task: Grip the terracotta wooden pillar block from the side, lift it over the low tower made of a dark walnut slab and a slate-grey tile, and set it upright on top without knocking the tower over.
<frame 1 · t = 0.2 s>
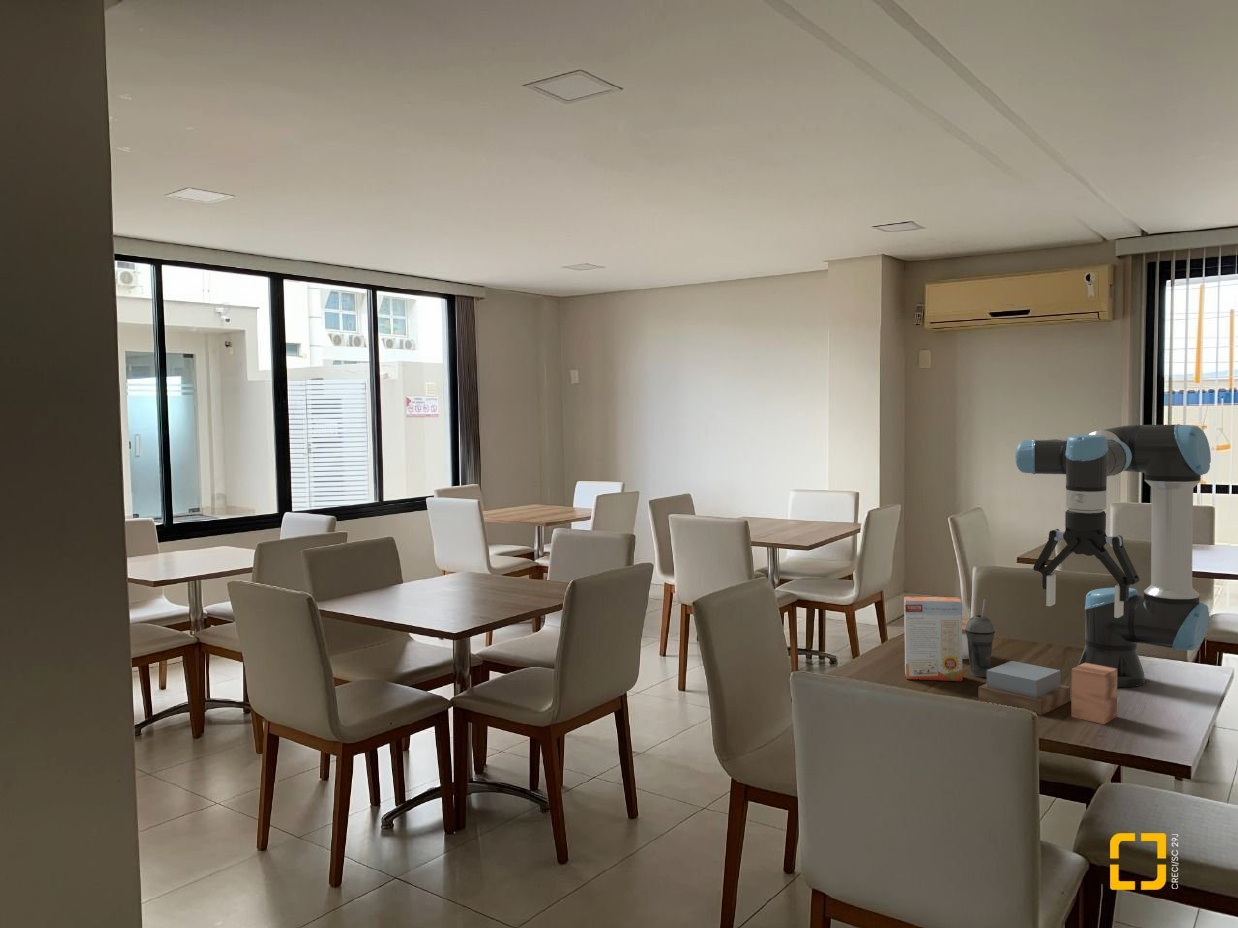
hand: (1083, 610, 193), 27 cm above the table, tool pointing down, fingers open, 13 cm apart
terracotta pillar block: (1094, 716, 208), on the table
cracker box: (933, 678, 241), on the table
lidded bowl: (959, 656, 261), on the table
slate top tile: (1023, 686, 220), point 3 cm above the table, touching walnut base slab
beverage cup: (979, 675, 242), on the table
walnut base slab: (1024, 703, 220), on the table, touching slate top tile
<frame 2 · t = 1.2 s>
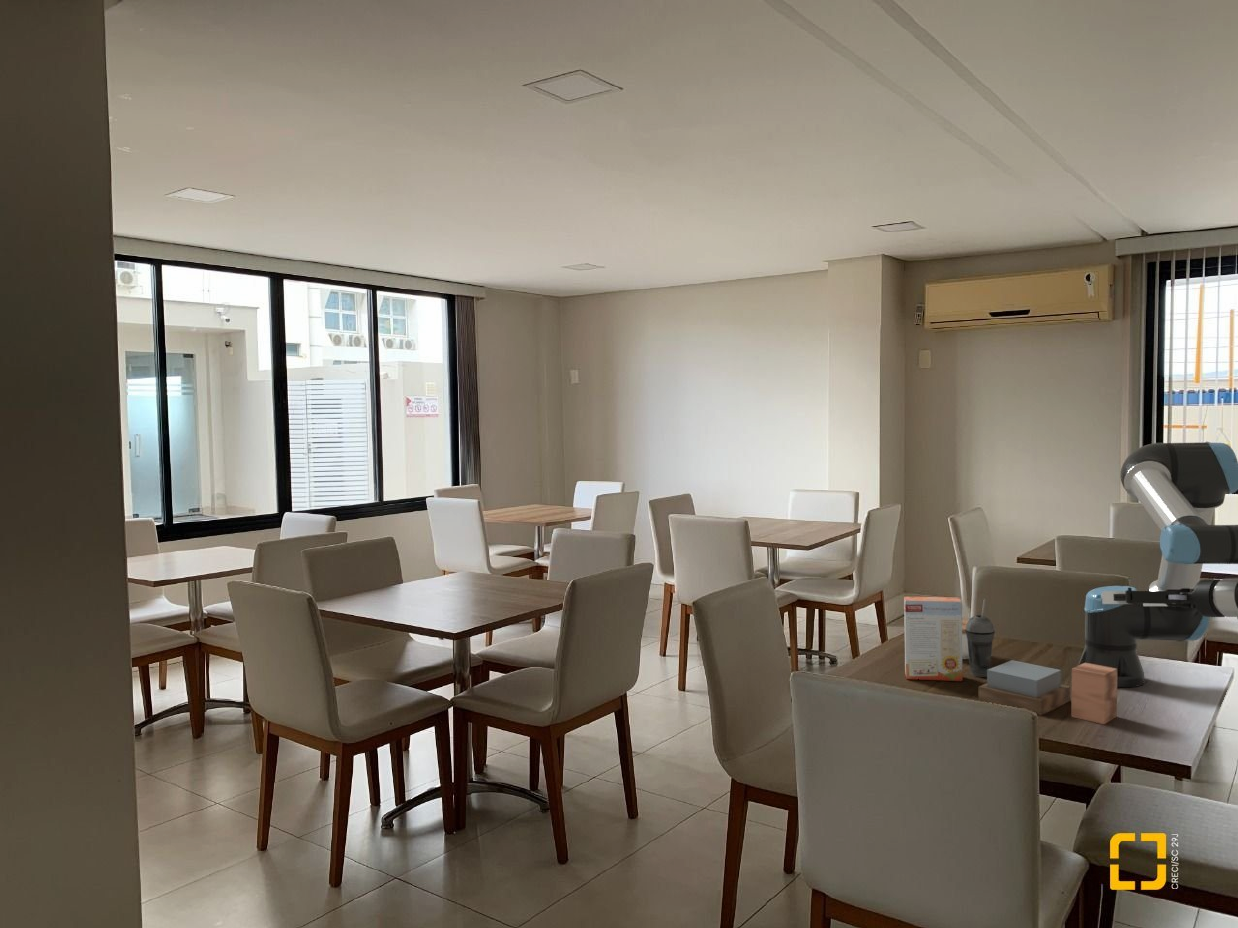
hand: (1123, 598, 203), 27 cm above the table, tool horizontal, fingers open, 13 cm apart
nothing on the table moved.
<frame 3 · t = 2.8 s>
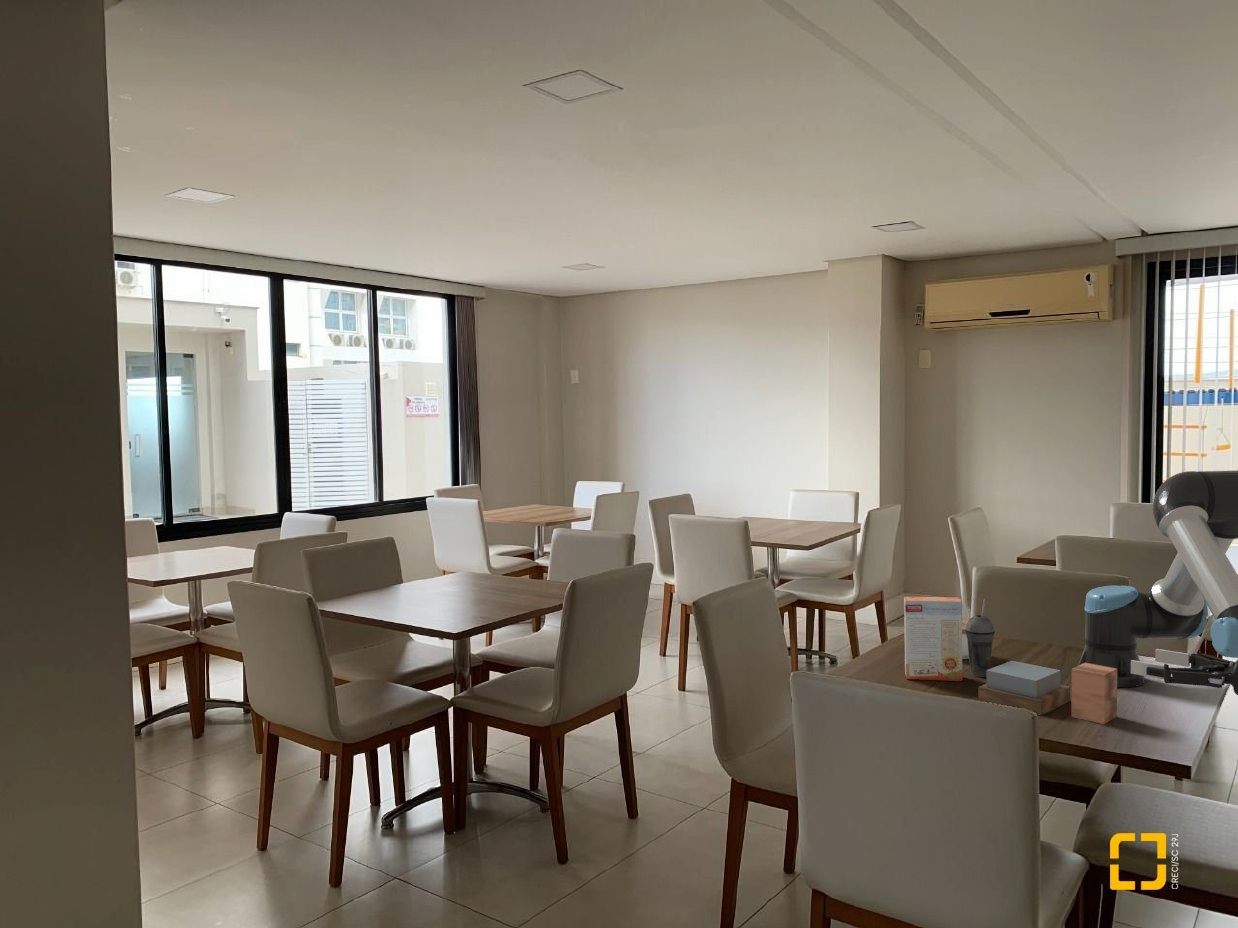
hand: (1143, 660, 199), 15 cm above the table, tool horizontal, fingers open, 13 cm apart
slate top tile: (1023, 686, 220), point 3 cm above the table
walnut base slab: (1024, 703, 220), on the table
everything else where it was.
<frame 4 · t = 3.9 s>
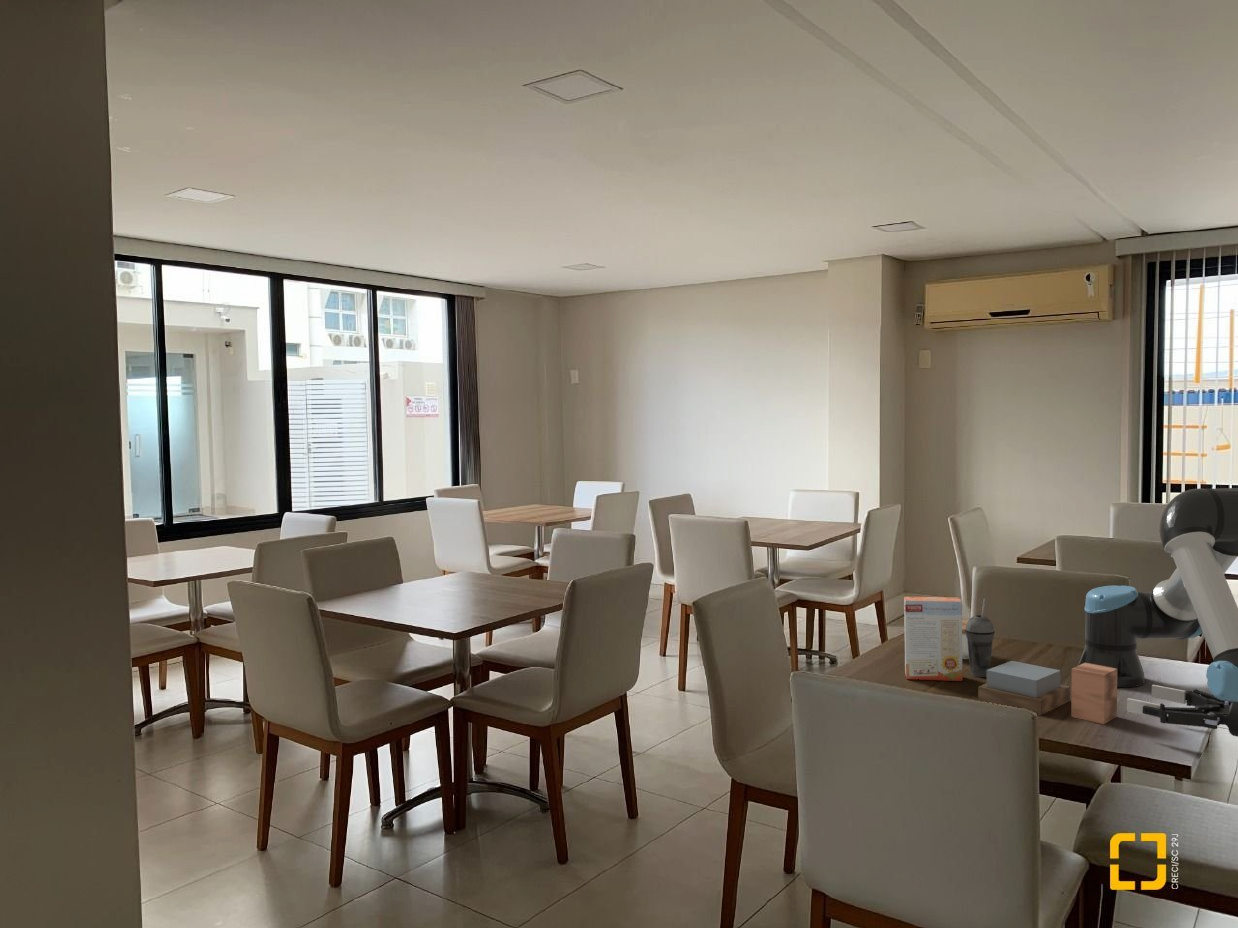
hand: (1140, 697, 201), 6 cm above the table, tool horizontal, fingers open, 13 cm apart
slate top tile: (1023, 686, 220), point 3 cm above the table, touching walnut base slab
walnut base slab: (1023, 703, 220), on the table, touching slate top tile
everything else where it was.
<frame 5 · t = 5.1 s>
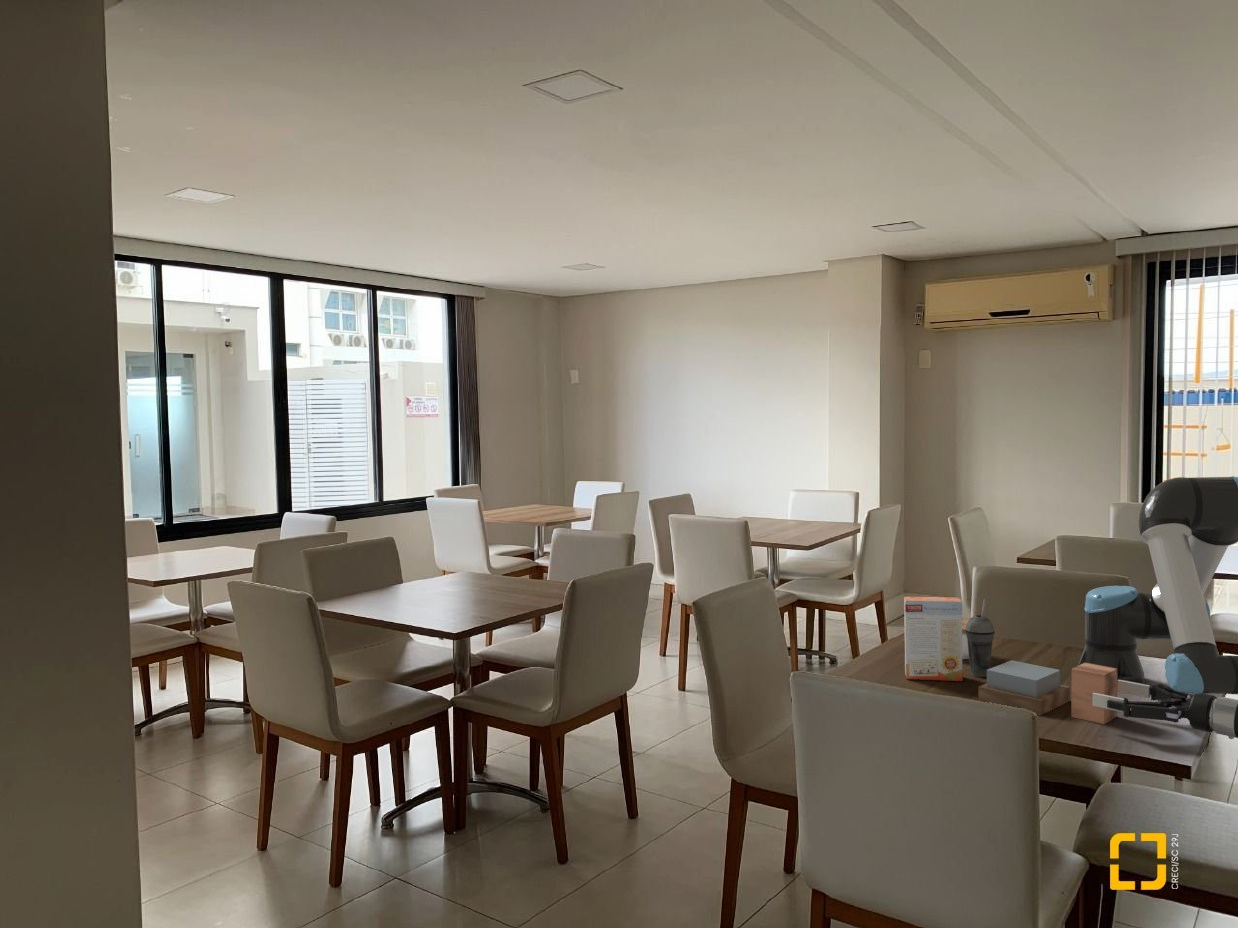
hand: (1105, 692, 205), 6 cm above the table, tool horizontal, fingers open, 13 cm apart
nothing on the table moved.
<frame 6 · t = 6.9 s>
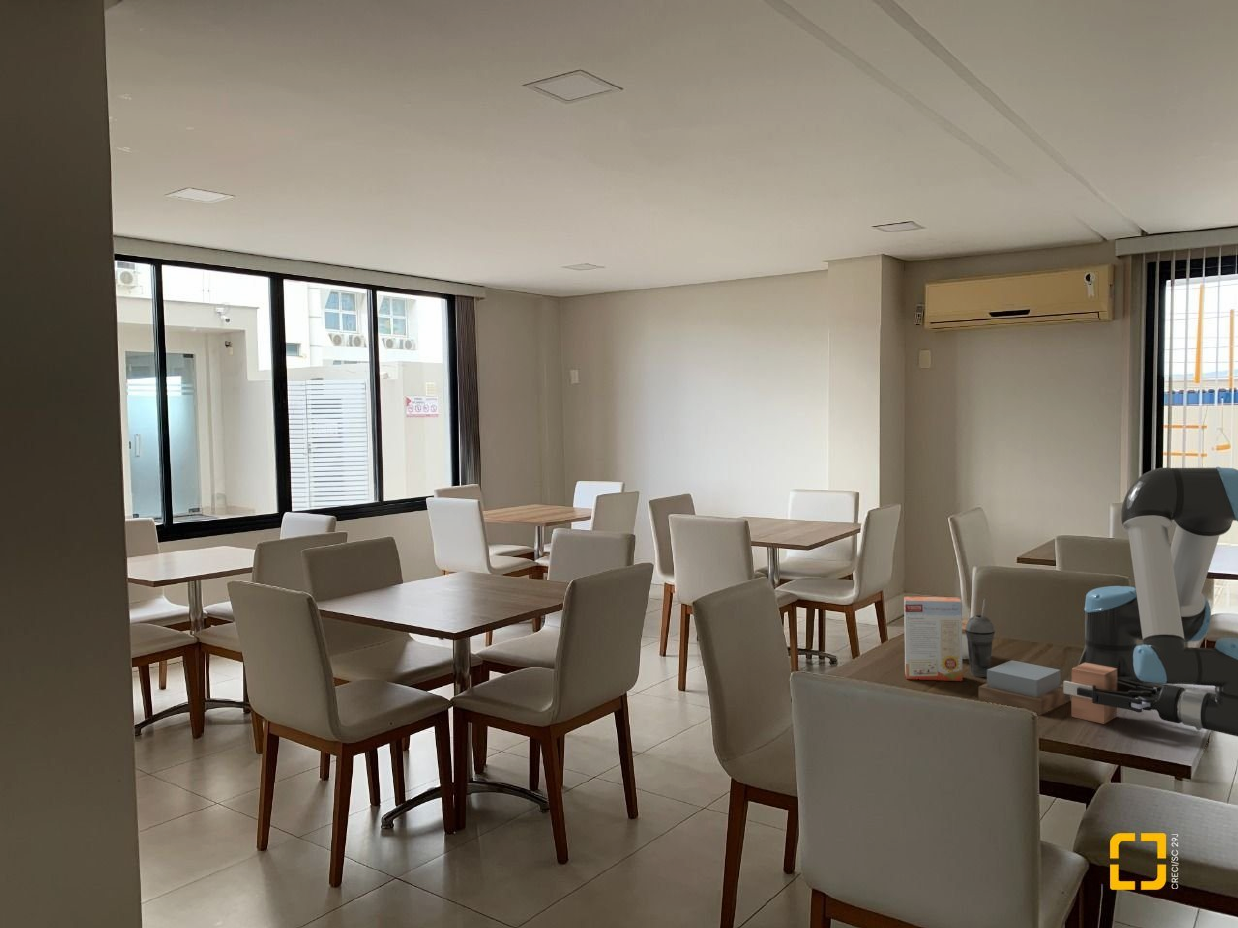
hand: (1071, 683, 212), 7 cm above the table, tool horizontal, fingers closed on terracotta pillar block, 7 cm apart
terracotta pillar block: (1094, 716, 208), on the table, touching gripper
slate top tile: (1023, 686, 220), point 3 cm above the table
walnut base slab: (1024, 703, 221), on the table
everything else where it was.
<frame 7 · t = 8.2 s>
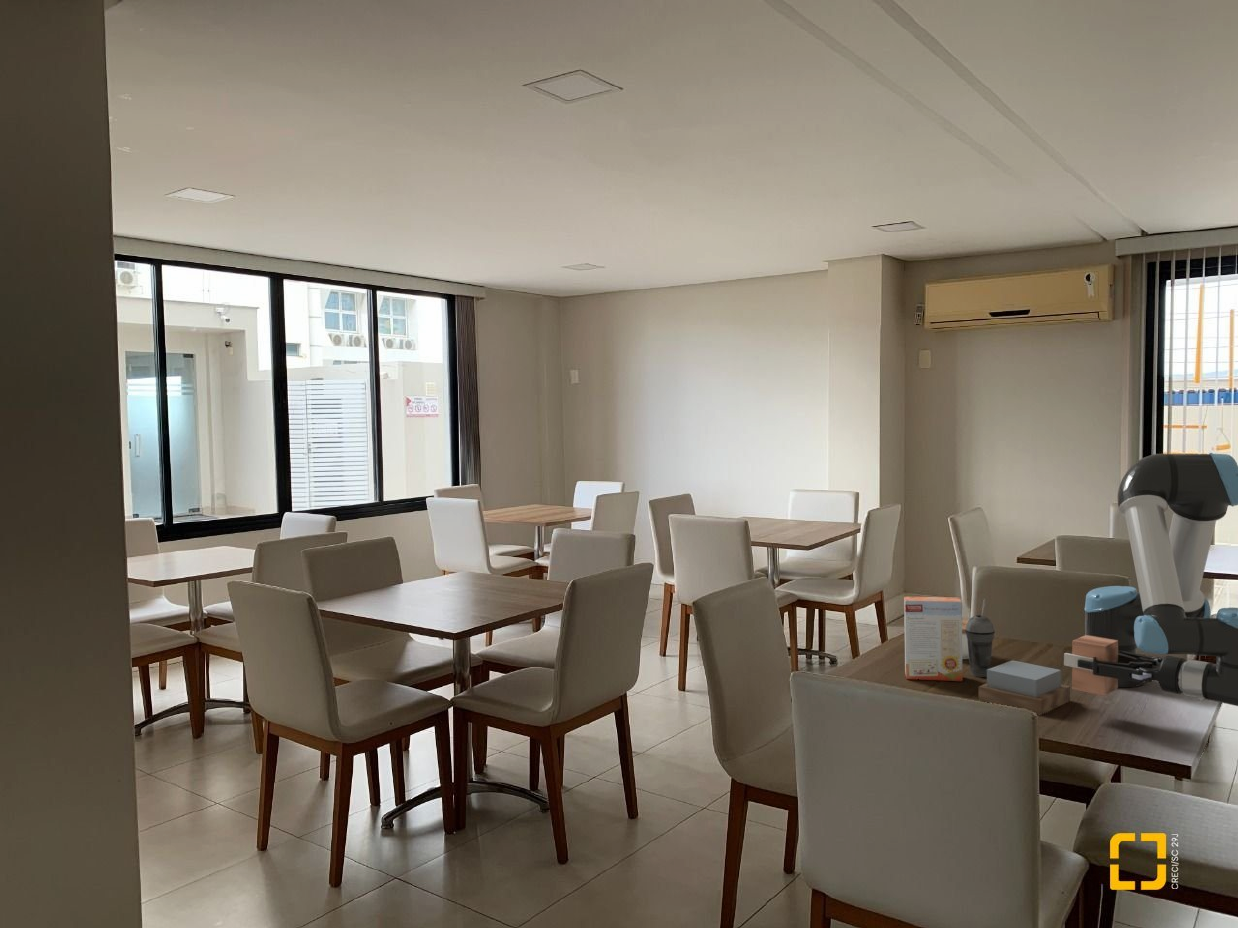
hand: (1072, 655, 211), 13 cm above the table, tool horizontal, fingers closed on terracotta pillar block, 7 cm apart
terracotta pillar block: (1094, 688, 208), point 6 cm above the table, touching gripper
slate top tile: (1023, 686, 220), point 3 cm above the table, touching walnut base slab
walnut base slab: (1024, 702, 221), on the table, touching slate top tile
everything else where it was.
when the fingers open (15 cm above the table, at t = 13.9 s): terracotta pillar block stays where it is, point 8 cm above the table.
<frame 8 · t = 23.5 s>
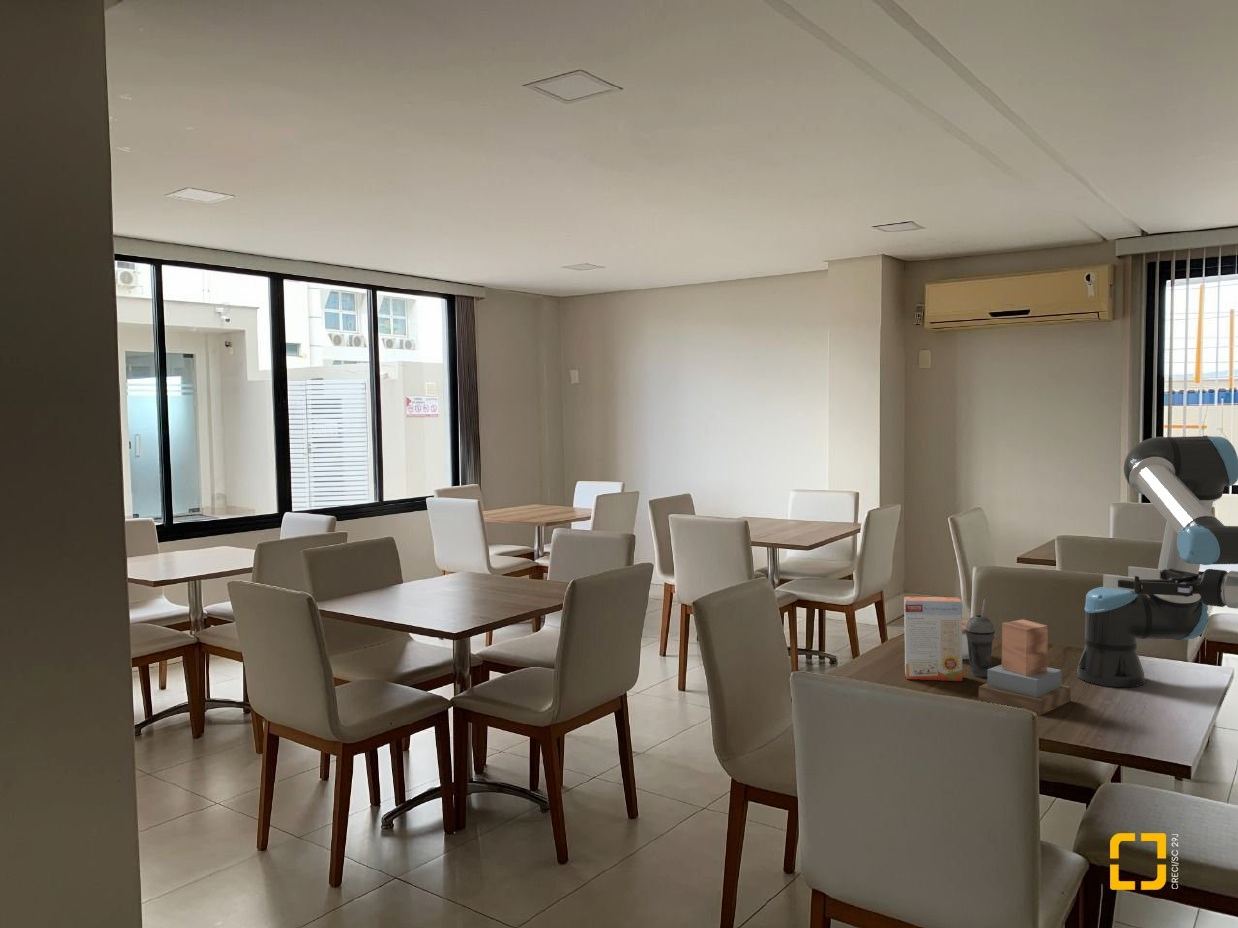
hand: (1116, 576, 205), 32 cm above the table, tool horizontal, fingers open, 13 cm apart
terracotta pillar block: (1024, 669, 220), point 8 cm above the table
everything else where it was.
at the end: terracotta pillar block inside the target area on the walnut base slab (0.4 cm from its centre), point 8.1 cm above the walnut base slab's base; terracotta pillar block tilted 1°; slate top tile 0.1 cm off-centre on the walnut base slab, point 4.0 cm above the walnut base slab's base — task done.
